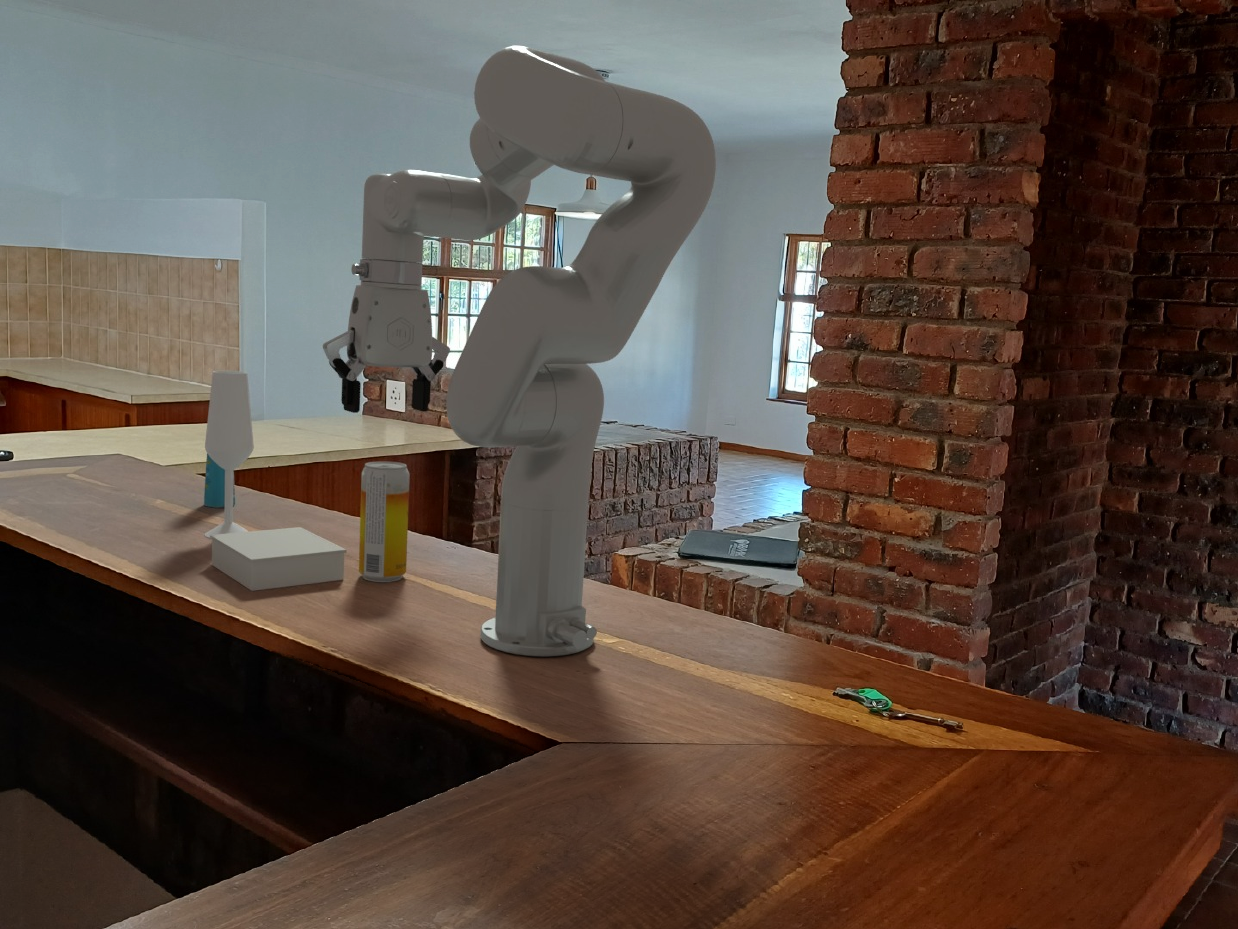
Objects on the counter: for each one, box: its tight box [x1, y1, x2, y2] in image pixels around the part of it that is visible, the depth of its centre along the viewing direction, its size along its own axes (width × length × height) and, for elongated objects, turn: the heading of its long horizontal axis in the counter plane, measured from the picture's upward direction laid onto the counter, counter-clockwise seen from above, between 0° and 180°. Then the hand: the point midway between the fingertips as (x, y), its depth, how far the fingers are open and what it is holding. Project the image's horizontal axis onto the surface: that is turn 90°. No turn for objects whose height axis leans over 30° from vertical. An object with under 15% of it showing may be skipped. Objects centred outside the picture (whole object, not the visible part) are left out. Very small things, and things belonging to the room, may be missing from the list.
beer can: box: [358, 460, 410, 583], centre depth 142 cm, size 6×6×15 cm
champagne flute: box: [204, 370, 255, 539], centre depth 159 cm, size 7×7×24 cm
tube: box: [203, 452, 236, 509], centre depth 179 cm, size 7×5×19 cm, turn 28°
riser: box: [209, 526, 347, 592], centre depth 142 cm, size 14×12×4 cm
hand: (386, 410), depth 140 cm, fingers open, 9 cm apart
